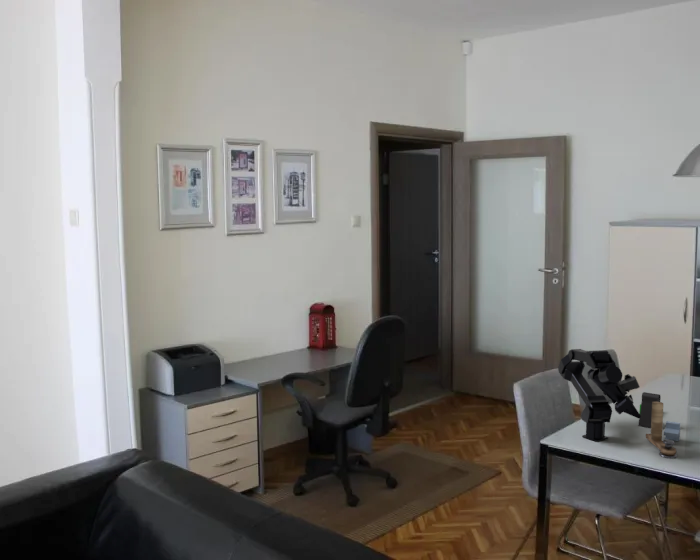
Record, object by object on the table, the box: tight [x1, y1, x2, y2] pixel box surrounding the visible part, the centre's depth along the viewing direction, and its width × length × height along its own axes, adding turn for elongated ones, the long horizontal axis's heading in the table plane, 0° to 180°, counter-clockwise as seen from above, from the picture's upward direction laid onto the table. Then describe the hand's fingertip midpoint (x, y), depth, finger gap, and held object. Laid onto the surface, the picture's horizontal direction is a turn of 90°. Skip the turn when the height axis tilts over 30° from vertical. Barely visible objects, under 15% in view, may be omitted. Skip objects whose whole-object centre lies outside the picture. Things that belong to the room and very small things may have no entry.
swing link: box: [645, 401, 677, 456], centre depth 246 cm, size 18×5×14 cm, turn 179°
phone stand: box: [637, 391, 661, 429], centre depth 273 cm, size 9×6×12 cm, turn 141°
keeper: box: [663, 420, 681, 442], centre depth 254 cm, size 7×4×6 cm, turn 150°
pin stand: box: [658, 439, 678, 459], centre depth 240 cm, size 6×6×5 cm
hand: (639, 417), depth 250 cm, fingers closed
